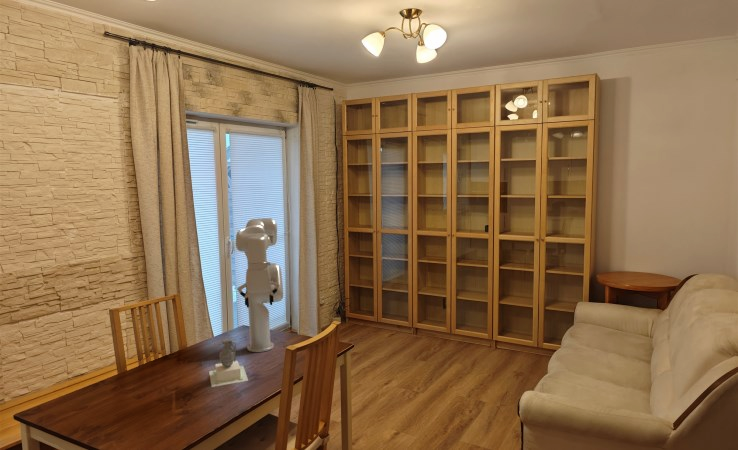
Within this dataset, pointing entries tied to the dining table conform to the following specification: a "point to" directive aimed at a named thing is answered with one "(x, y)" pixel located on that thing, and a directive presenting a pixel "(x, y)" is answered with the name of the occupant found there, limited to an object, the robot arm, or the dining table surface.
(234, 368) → the cream brick
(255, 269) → the robot arm
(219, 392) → the dining table surface
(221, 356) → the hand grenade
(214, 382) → the base plate
